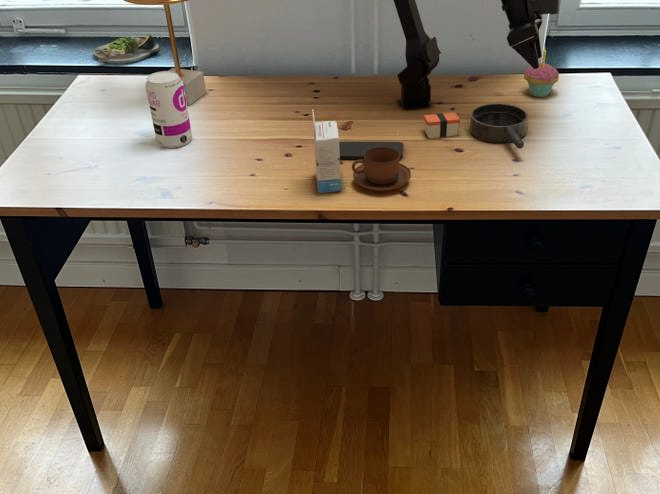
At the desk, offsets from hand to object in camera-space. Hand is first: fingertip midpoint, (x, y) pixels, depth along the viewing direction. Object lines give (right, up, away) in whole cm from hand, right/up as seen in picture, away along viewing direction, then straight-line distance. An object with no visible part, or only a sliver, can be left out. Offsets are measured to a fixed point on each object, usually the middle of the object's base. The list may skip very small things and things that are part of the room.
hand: (538, 63), depth 173 cm
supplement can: (-83, -16, +7) cm, 85 cm away
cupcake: (+6, +1, +22) cm, 23 cm away
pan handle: (-6, -18, -4) cm, 20 cm away
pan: (-8, -14, +6) cm, 17 cm away
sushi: (-21, -14, +6) cm, 26 cm away
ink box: (-47, -29, -10) cm, 56 cm away
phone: (-38, -20, 0) cm, 43 cm away
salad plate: (-106, +22, +52) cm, 120 cm away
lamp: (-85, +1, +27) cm, 89 cm away
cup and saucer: (-35, -29, -11) cm, 47 cm away
